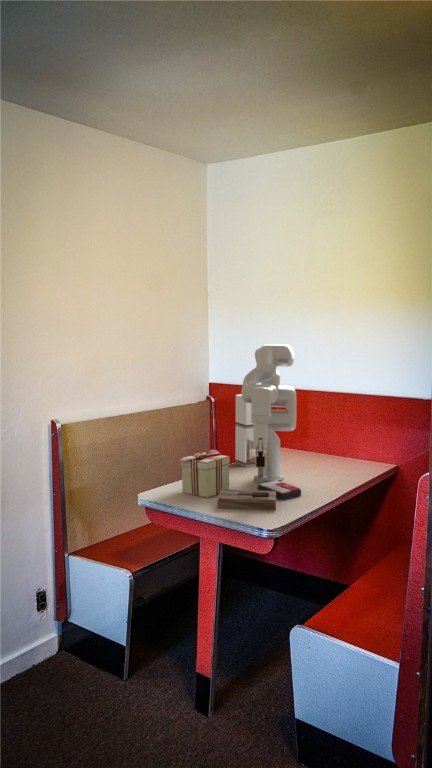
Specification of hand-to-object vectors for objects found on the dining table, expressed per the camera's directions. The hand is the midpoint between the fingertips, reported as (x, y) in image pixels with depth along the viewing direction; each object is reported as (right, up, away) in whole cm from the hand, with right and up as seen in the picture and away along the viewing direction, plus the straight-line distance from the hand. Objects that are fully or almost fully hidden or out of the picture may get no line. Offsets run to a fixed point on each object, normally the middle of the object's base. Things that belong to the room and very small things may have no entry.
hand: (260, 465), depth 239 cm
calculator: (+9, -15, +17) cm, 25 cm away
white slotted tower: (0, -9, +72) cm, 72 cm away
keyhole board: (-5, -16, +2) cm, 17 cm away
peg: (0, -6, +1) cm, 6 cm away
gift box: (-23, -14, +21) cm, 34 cm away
